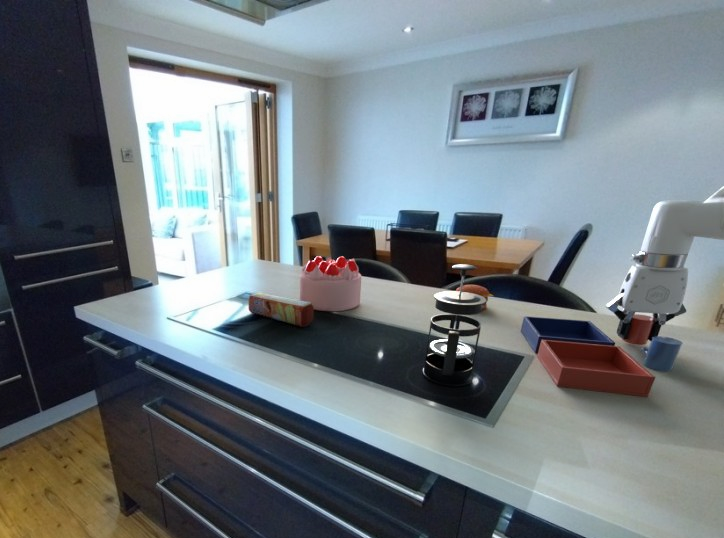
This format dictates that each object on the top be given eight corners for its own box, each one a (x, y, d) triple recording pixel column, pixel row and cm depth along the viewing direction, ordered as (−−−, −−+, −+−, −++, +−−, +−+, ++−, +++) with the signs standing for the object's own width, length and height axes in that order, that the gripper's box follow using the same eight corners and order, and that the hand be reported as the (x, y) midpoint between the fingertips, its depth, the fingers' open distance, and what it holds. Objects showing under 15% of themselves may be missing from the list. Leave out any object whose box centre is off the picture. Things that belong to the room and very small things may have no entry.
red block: (650, 345, 89) (659, 321, 87) (627, 344, 90) (635, 319, 88) (632, 332, 96) (639, 309, 94) (610, 331, 98) (617, 308, 95)
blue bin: (585, 336, 97) (589, 320, 96) (609, 360, 85) (615, 343, 83) (520, 330, 101) (523, 316, 100) (534, 352, 89) (539, 336, 88)
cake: (370, 300, 129) (374, 257, 123) (337, 316, 115) (339, 269, 110) (322, 291, 141) (322, 251, 135) (287, 304, 127) (286, 261, 122)
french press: (425, 361, 86) (439, 258, 77) (471, 369, 83) (492, 261, 74) (419, 386, 77) (434, 270, 68) (471, 395, 73) (495, 274, 64)
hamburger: (492, 306, 120) (497, 286, 117) (475, 313, 115) (479, 291, 113) (464, 299, 127) (467, 280, 125) (446, 305, 122) (449, 285, 120)
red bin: (613, 363, 83) (619, 346, 82) (647, 397, 71) (655, 377, 69) (537, 356, 88) (541, 339, 86) (556, 386, 75) (562, 367, 74)
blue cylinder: (676, 372, 79) (687, 345, 77) (649, 369, 80) (659, 343, 78) (653, 355, 86) (663, 330, 84) (629, 353, 88) (638, 328, 86)
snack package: (246, 314, 119) (245, 293, 117) (261, 309, 124) (260, 288, 121) (301, 330, 106) (301, 306, 103) (315, 323, 110) (316, 300, 108)
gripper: (621, 263, 84) (598, 341, 90) (723, 264, 78) (691, 347, 85) (606, 256, 90) (586, 330, 97) (699, 258, 85) (671, 335, 92)
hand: (635, 337), depth 91 cm, fingers closed on red block, 4 cm apart
